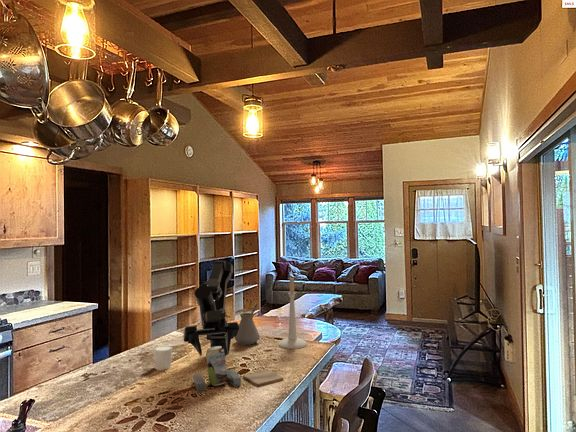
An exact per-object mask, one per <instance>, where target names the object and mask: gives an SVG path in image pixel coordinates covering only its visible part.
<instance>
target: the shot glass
mask: <svg viewBox="0 0 576 432" xmlns="http://www.w3.org/2000/svg"><path fill="white" fill-rule="evenodd" d="M172 357H173V347H172V346H170V345H163V346H158V347H154V348H153V358H154V369H155V370H157V371H164V370H167V369H170V368H171V367H172Z"/></svg>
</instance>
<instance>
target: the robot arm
mask: <svg viewBox="0 0 576 432" xmlns="http://www.w3.org/2000/svg"><path fill="white" fill-rule="evenodd" d="M211 265H212V266H211V271H210V273H209V277H208V279H207V280H205V281H204V282H203V283H202V284H201V285H200V286H198V287H197V288H196V289H195V291H194V297H195V299H196V302H197V305H198V307H199V312H200V319H201V327H202V328H200V329H199V328H198V326H197V325H189V326H185V327H184V330H183V342H184V343H188V344H189V345H190V344H191V346H192V347H194V349H195V350H196V352H197V353H198V354H199V356H200V357H201V356H203V355H202V354H203V352H202V347H201V343H200V336H205V335H206V340H207V341H210V342H209V343H210V344H209V345H210V347H209V348H211V347H215V346H222V348H223V350H224V354H225V355H228V354H230V348H231V341H232V340H233V339H235V338H234V337H235V336H237V333H238V330H239V324H240V323H238V322H237V321H232V322H231V321H230V322H228V321H227V319H226V317H227V312H226V298H227V287H228V283H229V282H230V280H231V279H232V274H233V273H234V265H233V264H232V263H231V262H227V261H225V260H215V261H213V262H212V264H211Z"/></svg>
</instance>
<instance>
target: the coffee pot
mask: <svg viewBox="0 0 576 432" xmlns="http://www.w3.org/2000/svg"><path fill="white" fill-rule="evenodd" d="M256 308H257V309H258V308H259V306H258V304H257V303H256V304H255V305H254V307H253V309H252V310H251V312H244V313H240V314H239V316H240V321H239V323H238V324H239V330H238V333H237V336H235V337H234V338H233V339H234V340H235V342H237V343H238V345H242V346H251V344H252V345H254V344H256V343H255V342H258V341H259V339H260V337H261V336H260V332H259V331H258V329H257V326H256V324H255V322H254V319H253V318H254V316H255V314H254V313H255V311H256Z"/></svg>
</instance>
